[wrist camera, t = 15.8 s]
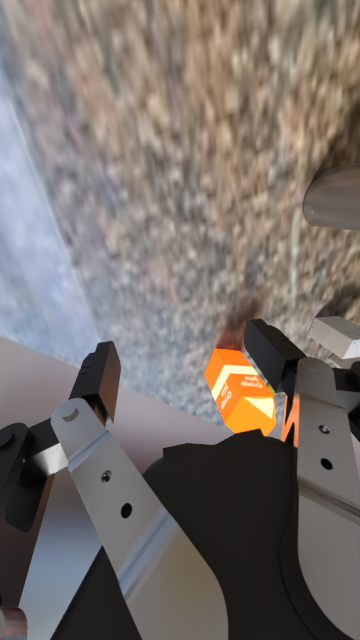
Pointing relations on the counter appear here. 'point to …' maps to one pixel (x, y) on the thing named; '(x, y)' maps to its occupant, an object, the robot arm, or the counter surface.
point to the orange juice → (240, 392)
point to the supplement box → (343, 361)
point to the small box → (337, 335)
